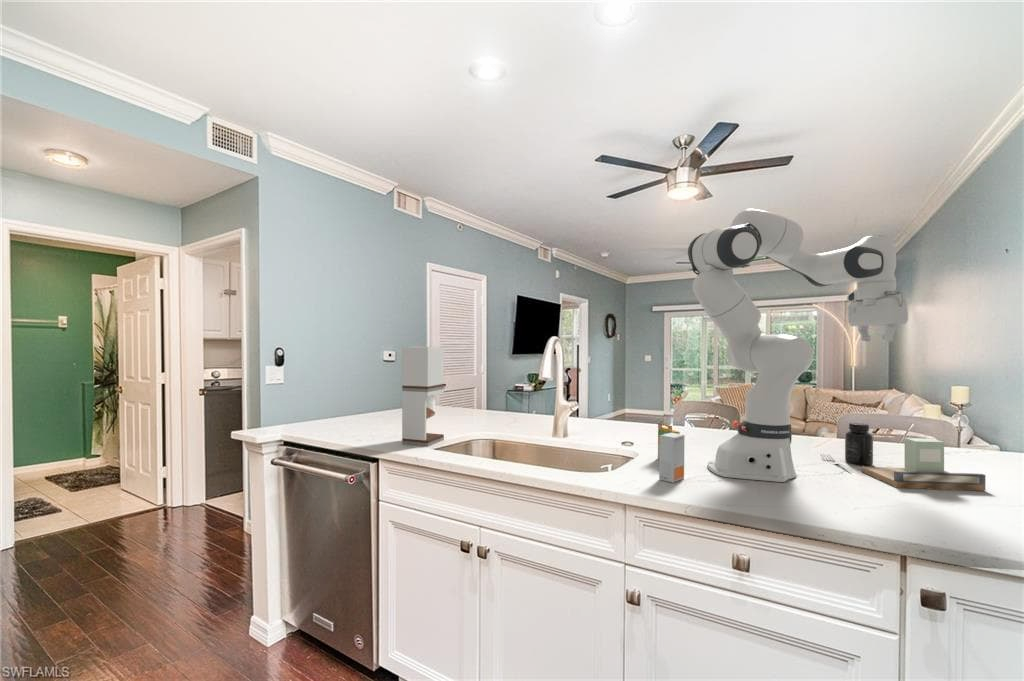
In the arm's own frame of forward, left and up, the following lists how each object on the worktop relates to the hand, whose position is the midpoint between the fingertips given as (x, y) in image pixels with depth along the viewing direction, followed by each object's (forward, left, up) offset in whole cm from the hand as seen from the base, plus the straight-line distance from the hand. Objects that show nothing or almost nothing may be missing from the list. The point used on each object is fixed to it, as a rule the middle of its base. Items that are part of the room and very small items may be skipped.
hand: (876, 341), depth 131 cm
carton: (+4, -12, -36) cm, 38 cm away
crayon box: (-57, +3, -37) cm, 68 cm away
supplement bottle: (0, +8, -37) cm, 38 cm away
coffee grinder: (-141, +19, -37) cm, 147 cm away
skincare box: (-60, -16, -37) cm, 72 cm away
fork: (-8, +1, -38) cm, 39 cm away
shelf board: (+5, -9, -37) cm, 38 cm away
